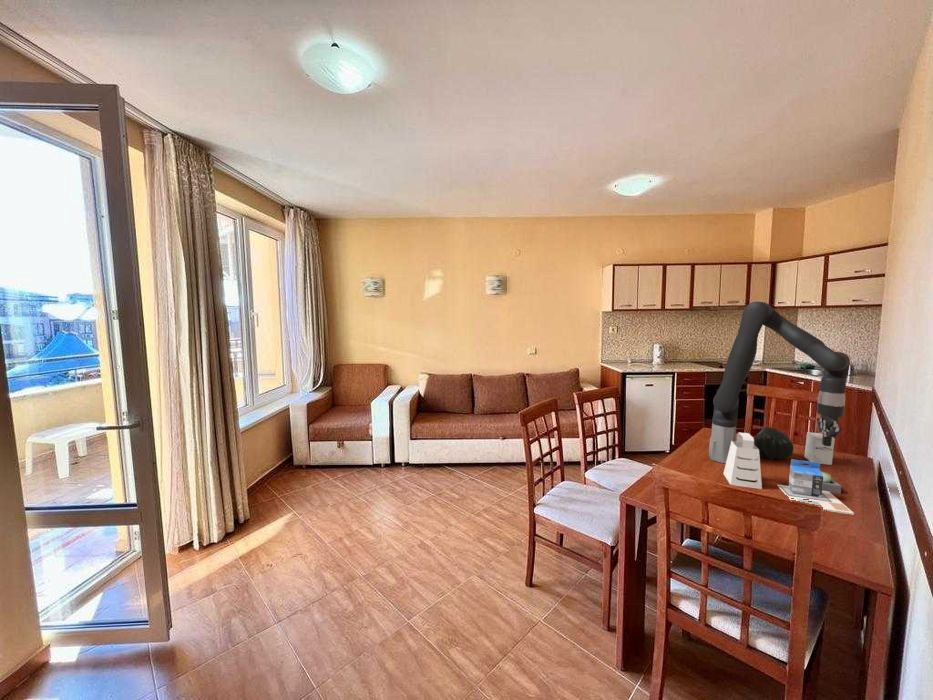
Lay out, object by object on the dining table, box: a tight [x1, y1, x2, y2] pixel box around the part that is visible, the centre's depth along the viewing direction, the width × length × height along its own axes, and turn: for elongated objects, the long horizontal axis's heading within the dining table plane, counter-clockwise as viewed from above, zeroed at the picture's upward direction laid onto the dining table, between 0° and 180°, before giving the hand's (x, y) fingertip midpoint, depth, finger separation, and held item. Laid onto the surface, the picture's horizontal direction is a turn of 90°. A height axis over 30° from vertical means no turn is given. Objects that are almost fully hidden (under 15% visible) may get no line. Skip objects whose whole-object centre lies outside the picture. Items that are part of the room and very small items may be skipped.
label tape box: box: [788, 459, 823, 497], centre depth 139 cm, size 9×4×12 cm, turn 65°
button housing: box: [822, 477, 842, 494], centre depth 145 cm, size 8×8×3 cm
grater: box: [723, 432, 763, 490], centre depth 150 cm, size 10×10×20 cm
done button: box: [821, 471, 832, 483], centre depth 145 cm, size 4×4×4 cm
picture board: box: [777, 484, 855, 516], centre depth 136 cm, size 16×16×1 cm
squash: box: [753, 426, 794, 460], centre depth 174 cm, size 14×15×15 cm
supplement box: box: [804, 431, 836, 466], centre depth 168 cm, size 7×7×13 cm
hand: (826, 445), depth 143 cm, fingers closed
